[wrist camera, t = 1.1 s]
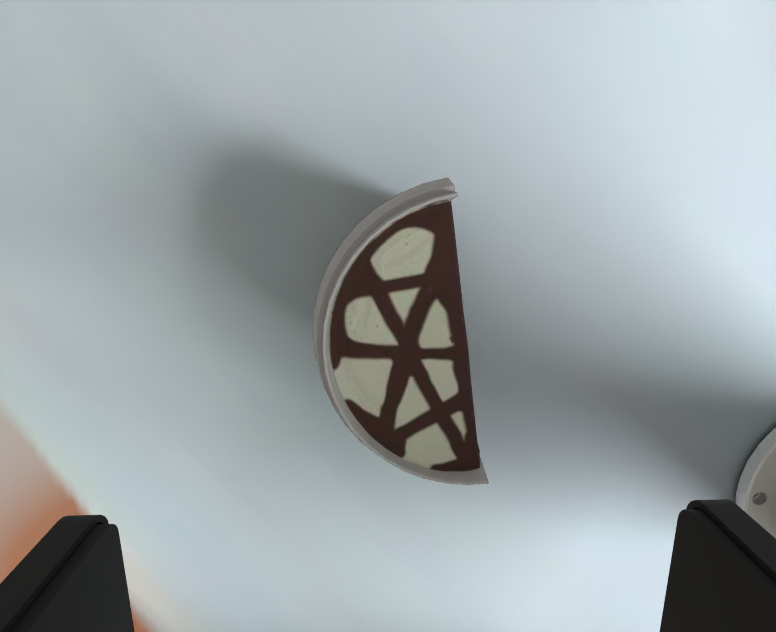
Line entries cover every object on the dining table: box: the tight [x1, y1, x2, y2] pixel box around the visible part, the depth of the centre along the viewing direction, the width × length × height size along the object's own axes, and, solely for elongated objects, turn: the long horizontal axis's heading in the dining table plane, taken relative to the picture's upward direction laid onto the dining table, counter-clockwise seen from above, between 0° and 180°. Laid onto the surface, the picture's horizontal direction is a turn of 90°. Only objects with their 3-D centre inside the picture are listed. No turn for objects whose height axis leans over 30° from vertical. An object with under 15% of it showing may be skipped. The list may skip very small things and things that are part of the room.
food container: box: [313, 178, 489, 485], centre depth 24 cm, size 12×6×10 cm, turn 8°
